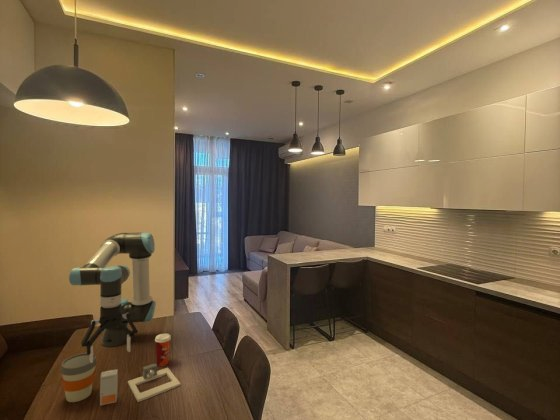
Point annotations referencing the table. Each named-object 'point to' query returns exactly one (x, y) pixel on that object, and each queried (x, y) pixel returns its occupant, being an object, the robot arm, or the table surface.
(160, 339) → the paper cup
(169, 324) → the table surface
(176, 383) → the socket board
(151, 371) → the silver metal knob
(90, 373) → the reusable coffee cup
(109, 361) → the table surface
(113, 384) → the skincare box
